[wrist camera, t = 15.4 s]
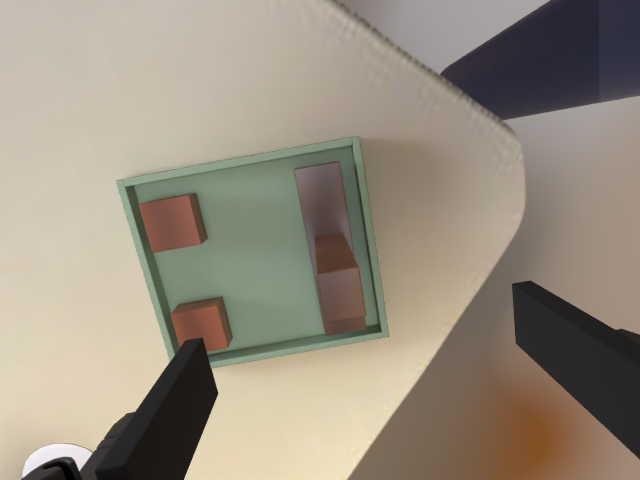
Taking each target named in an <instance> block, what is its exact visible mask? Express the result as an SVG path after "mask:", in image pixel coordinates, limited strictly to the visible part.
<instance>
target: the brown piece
mask: <svg viewBox="0 0 640 480" xmlns="http://www.w3.org/2000/svg"><path fill="white" fill-rule="evenodd" d="M294 174H295V179H296V184H297V190H298V195H299V200H300V205H301V211H302V216H303V221H304V226H305V232H306V237H307V242H308V247H309V252H310V258H311V263H312V268H313V273H314V279H315V284H316V289H317V294H318V300H319V305H320V310H321V315H322V320H323V326H324V331H325V336H332V335H337V334H343V333H349V332H354V331H360V330H366V329H367V328H366V322H365V316H366V308H365V302H364V295H363V289H362V283H361V277H360V271H359V266H358V264H357V262H356V260H355V255H354V248H353V242H352V236H351V230H350V224H349V218H348V212H347V205H346V199H345V193H344V187H343V181H342V175H341V169H340V162H339V161H335V162H329V163H324V164H318V165H313V166H307V167H302V168H296V169H294Z"/></svg>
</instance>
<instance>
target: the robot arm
mask: <svg viewBox="0 0 640 480" xmlns="http://www.w3.org/2000/svg"><path fill="white" fill-rule="evenodd" d="M512 291H513V305H514V321H515V336H516V344H517V345H518V346H519V347H520V348H521V349H522V350H523V351H525V352H526V353H527V354H528V355H529V356H530V357H531V358H532V359H533V360H534V361H535V362H536V363H537V364H539V365H540V366H541V367H542V368H543V369H544V370H545V371H546V372H547V373H548V374H549V375H550V376H551V377H552V378H554V380H556V381H557V382H558V383H559V384H560V385H561V386H562V387H563V388H564V389H565V390H566V391H567V392H568V393H570V394H571V395H572V396H573V397H574V398H575V399H576V400H577V401H578V402H579V403H580V404H581V405H582V406H583V407H584V408H585V409H587V410H588V411H589V412H590V413H591V414H592V415H593V416H594V417H595V418H596V419H597V420H598V421H599V422H600V423H601V424H603V425H604V426H605V427H606V428H607V429H608V430H609V431H610V432H611V433H612V434H613V435H614V436H615V437H616V438H618V439H619V440H620V441H621V442H622V443H623V444H624V445H625V446H626V447H627V448H628V449H629V450H630V451H631V452H633V453H634V454H635V455H636V456H637V457H638V458H639V459H640V335H639V334H636V333H633V332H630V331H627V330H623V329H618V330H615V329H613V328H611V327H609V326H607V325H606V324H604V323H602V322H601V321H599V320H597V319H596V318H594V317H592V316H590V315H589V314H587V313H585V312H584V311H581V310H580V309H578V308H577V307H575V306H573V305H571V304H570V303H568V302H566V301H565V300H563V299H561V298H560V297H558V296H556V295H554V294H553V293H551V292H549V291H548V290H546V289H544V288H542V287H541V286H539V285H537V284H535V283H534V282H532V281H525V282H520V283H514V284H512ZM217 395H218V391H217V387H216V384H215V380H214V376H213V373H212V369H211V365H210V362H209V358H208V355H207V351H206V347H205V344H204V340H203V337H201V338H195V339H190V340H185V341H184V343H183V344H182V345H181V347H180V348H179V350H178V351H177V353H176V354H175V356H174V357H173V358H172V360H171V361H170V363H169V364H168V366H167V367H166V368H165V370H164V371H163V373H162V374H161V376H160V377H159V379H158V380H157V381H156V383H155V384H154V386H153V387H152V389H151V390H150V392H149V393H148V394H147V396H146V397H145V399H144V400H143V402H142V403H141V404H140V406H139V407H138V409H137V410H136V412H132V413H127V414H126V415H125V416H124V417H122V418H121V419H120V420H119V421H118V422H117V423H115V424H114V425H113V426H112V428H111V429H110V430H109V432H108V433H107V435H106V436H105V437H104V440H102V441H101V443H100V444H99V445H98V447H97V450H95V451H94V452H93V453H92V455H91V456H90V457H89V459H88V460H87V462H86V463H85V464H84V466H83V467H82V468H81V470H80V471H79V469H78V467H77V464H76V462H75V460H74V459H73V458H72V457H65V456H64V457H60V458H56V459H53V460H50V461H48V462H46V463H44V464H42V465H40V466H39V467H37V468H35V469H34V470H32V471H31V472H29V473H28V474H27V475H26V476H25V477H24V478H22V479H21V480H184V478H185V475H186V473H187V470H188V468H189V465H190V463H191V460H192V458H193V455H194V453H195V450H196V448H197V445H198V443H199V440H200V438H201V435H202V433H203V430H204V428H205V425H206V423H207V420H208V418H209V415H210V413H211V410H212V408H213V405H214V403H215V400H216V398H217Z"/></svg>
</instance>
